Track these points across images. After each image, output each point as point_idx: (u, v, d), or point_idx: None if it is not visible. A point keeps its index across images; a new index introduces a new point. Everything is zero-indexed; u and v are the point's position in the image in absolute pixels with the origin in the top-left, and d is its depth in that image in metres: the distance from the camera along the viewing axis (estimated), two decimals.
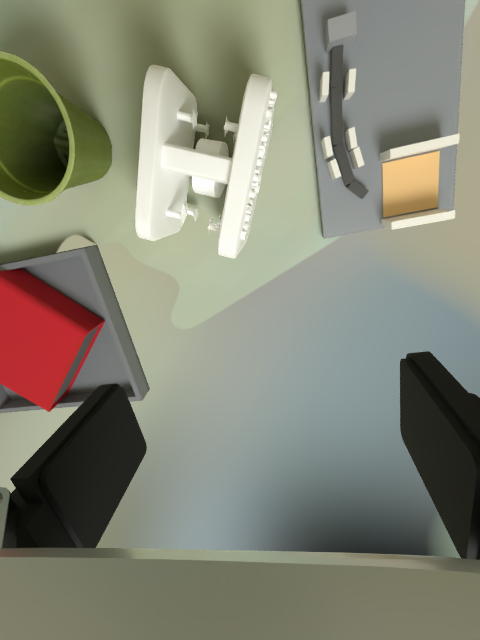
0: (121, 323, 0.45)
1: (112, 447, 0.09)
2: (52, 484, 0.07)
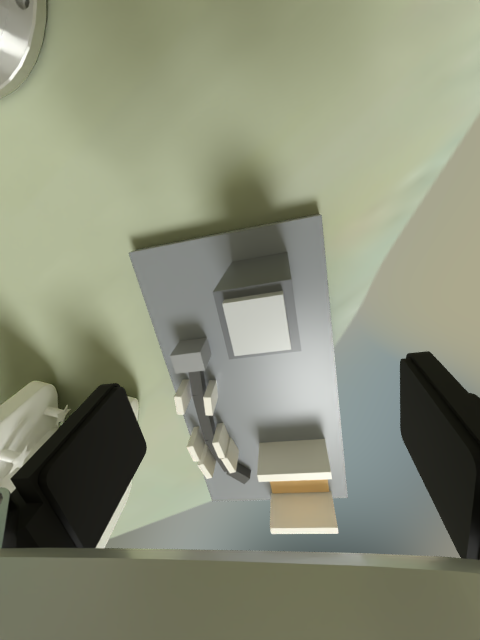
0: None
1: (112, 447, 0.09)
2: (52, 484, 0.07)
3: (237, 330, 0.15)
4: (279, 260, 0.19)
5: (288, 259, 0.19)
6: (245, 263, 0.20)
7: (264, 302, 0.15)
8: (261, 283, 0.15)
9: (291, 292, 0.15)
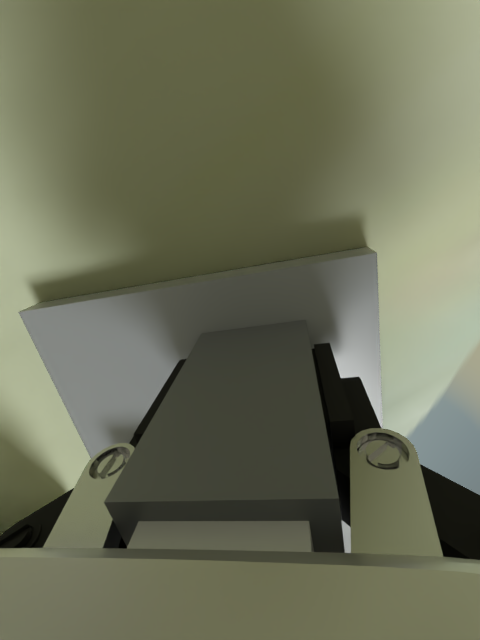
0: None
1: None
2: None
3: None
4: (292, 352, 0.09)
5: (311, 352, 0.09)
6: (223, 346, 0.10)
7: None
8: (245, 490, 0.05)
9: (336, 528, 0.05)
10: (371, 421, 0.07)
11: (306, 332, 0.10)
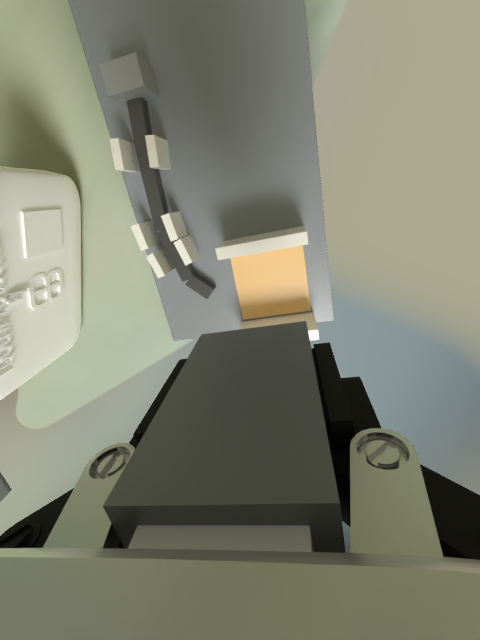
0: None
1: None
2: None
3: None
4: (292, 353, 0.09)
5: (311, 353, 0.09)
6: (223, 347, 0.10)
7: None
8: (245, 494, 0.05)
9: (337, 532, 0.05)
10: (371, 422, 0.07)
11: (306, 333, 0.10)
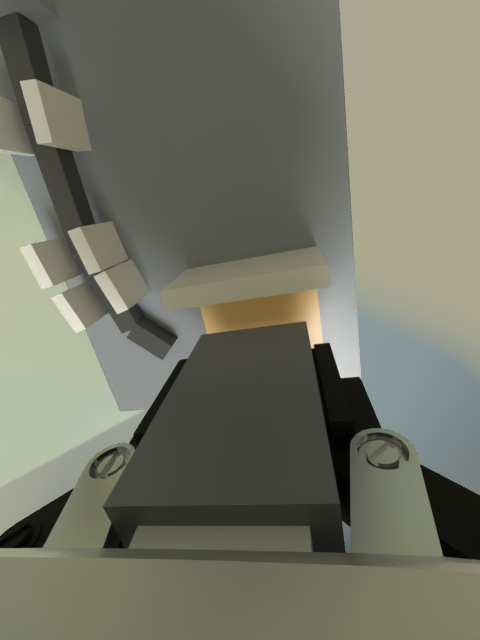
0: None
1: None
2: None
3: None
4: (292, 354, 0.09)
5: None
6: (223, 348, 0.10)
7: None
8: (245, 495, 0.05)
9: (337, 533, 0.05)
10: (371, 421, 0.07)
11: (306, 334, 0.10)
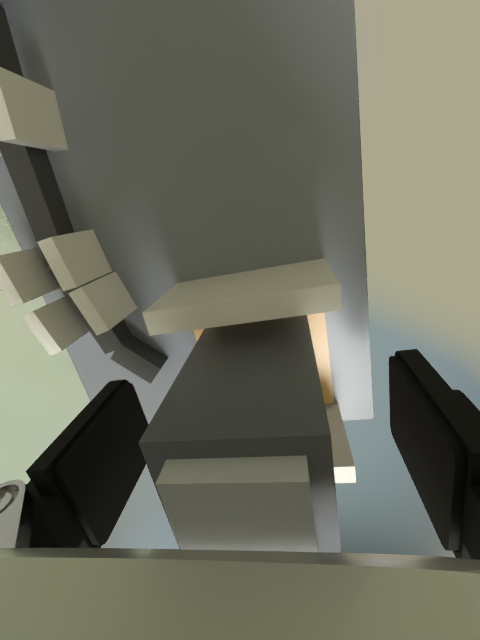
0: None
1: (122, 442, 0.10)
2: (67, 477, 0.07)
3: (195, 535, 0.06)
4: (292, 333, 0.10)
5: (310, 333, 0.10)
6: (231, 329, 0.11)
7: (260, 492, 0.06)
8: (255, 431, 0.06)
9: (328, 461, 0.06)
10: None
11: (305, 317, 0.11)
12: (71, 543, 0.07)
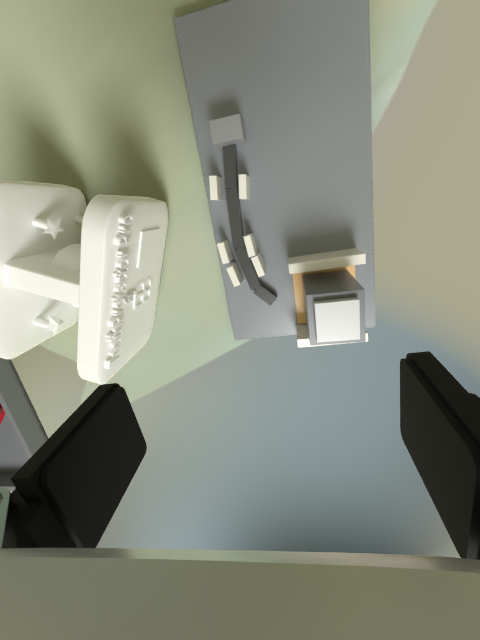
0: (25, 408, 0.40)
1: (112, 447, 0.09)
2: (52, 484, 0.07)
3: (322, 323, 0.22)
4: (344, 275, 0.25)
5: (351, 275, 0.25)
6: (315, 276, 0.27)
7: (345, 304, 0.21)
8: (342, 291, 0.21)
9: (363, 298, 0.21)
10: None
11: (348, 272, 0.26)
12: None
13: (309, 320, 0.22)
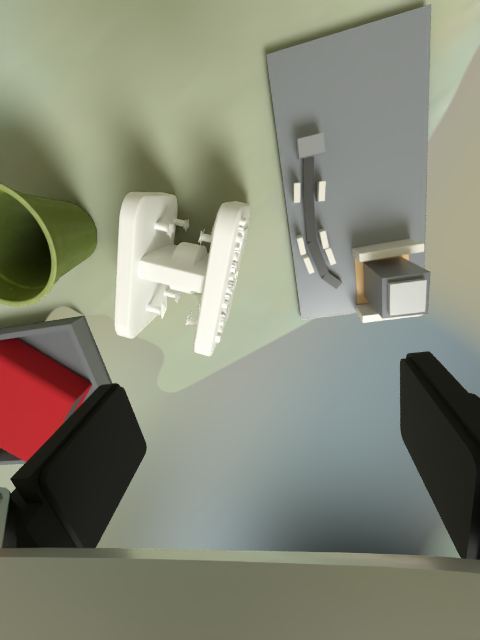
0: None
1: (112, 447, 0.09)
2: (52, 484, 0.07)
3: (395, 300, 0.27)
4: (403, 261, 0.31)
5: None
6: (377, 263, 0.32)
7: (415, 284, 0.27)
8: (411, 273, 0.27)
9: (428, 279, 0.27)
10: None
11: (404, 258, 0.32)
12: None
13: (383, 298, 0.28)
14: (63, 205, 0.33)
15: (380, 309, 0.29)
